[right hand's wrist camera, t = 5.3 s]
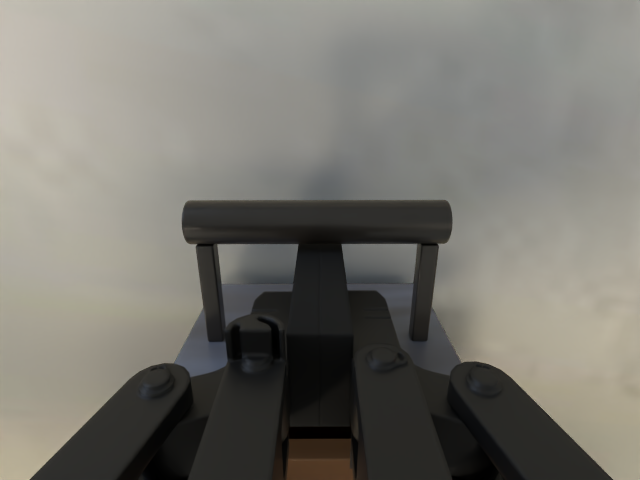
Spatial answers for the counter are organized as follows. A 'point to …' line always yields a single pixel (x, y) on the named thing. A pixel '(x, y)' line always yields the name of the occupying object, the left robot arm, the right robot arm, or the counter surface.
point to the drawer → (318, 228)
